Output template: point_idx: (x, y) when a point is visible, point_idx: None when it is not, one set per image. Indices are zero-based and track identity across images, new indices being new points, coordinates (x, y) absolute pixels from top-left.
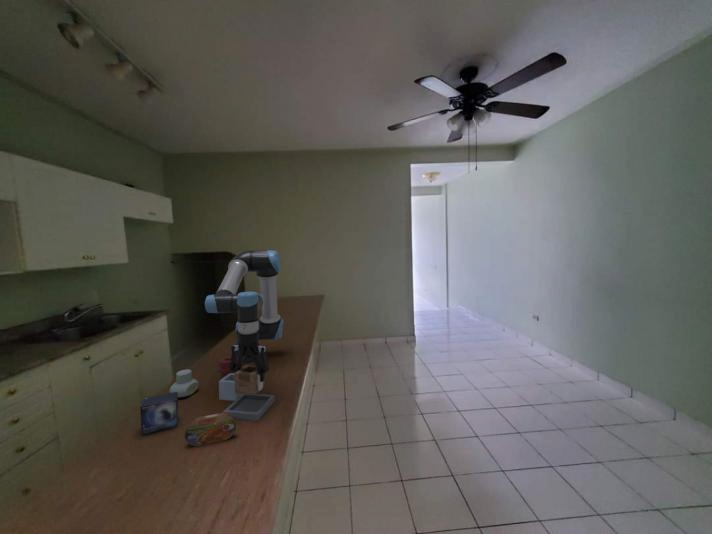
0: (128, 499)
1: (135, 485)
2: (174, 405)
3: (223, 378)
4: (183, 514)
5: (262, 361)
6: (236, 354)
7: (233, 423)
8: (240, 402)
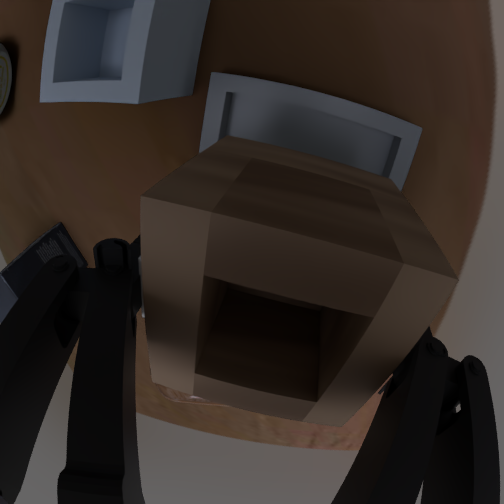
0: (174, 409)
1: (161, 395)
2: None
3: (45, 62)
4: (266, 437)
5: (429, 496)
6: (7, 441)
7: None
8: (224, 134)
